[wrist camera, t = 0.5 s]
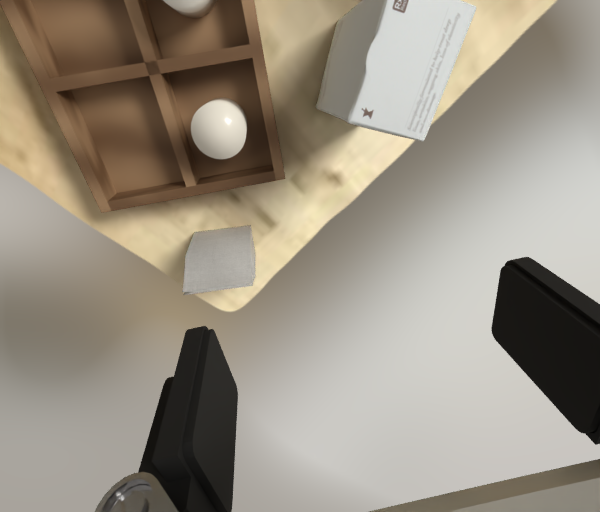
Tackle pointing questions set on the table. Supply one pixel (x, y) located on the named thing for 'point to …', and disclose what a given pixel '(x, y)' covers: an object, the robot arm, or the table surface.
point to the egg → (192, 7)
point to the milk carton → (219, 260)
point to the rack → (149, 92)
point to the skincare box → (393, 63)
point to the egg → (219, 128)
